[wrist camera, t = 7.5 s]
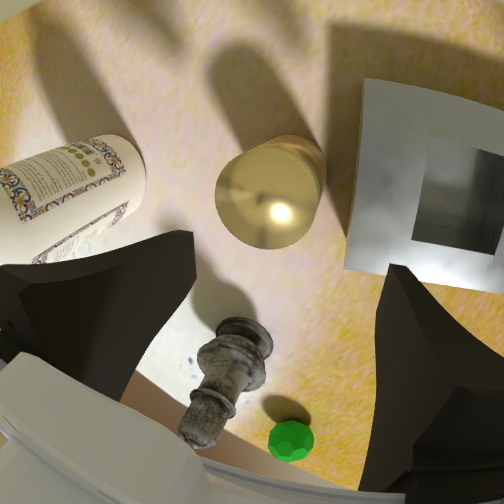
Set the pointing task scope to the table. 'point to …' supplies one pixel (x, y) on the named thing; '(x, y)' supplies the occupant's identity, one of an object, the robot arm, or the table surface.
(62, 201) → the bath foam
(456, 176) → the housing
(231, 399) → the grey chess piece
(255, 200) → the plug
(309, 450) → the polyhedron
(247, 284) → the table surface
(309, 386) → the table surface
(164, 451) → the robot arm
